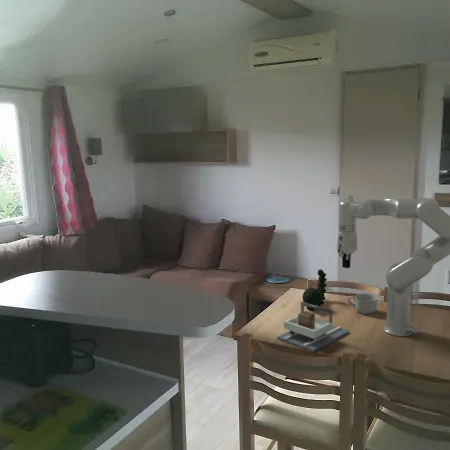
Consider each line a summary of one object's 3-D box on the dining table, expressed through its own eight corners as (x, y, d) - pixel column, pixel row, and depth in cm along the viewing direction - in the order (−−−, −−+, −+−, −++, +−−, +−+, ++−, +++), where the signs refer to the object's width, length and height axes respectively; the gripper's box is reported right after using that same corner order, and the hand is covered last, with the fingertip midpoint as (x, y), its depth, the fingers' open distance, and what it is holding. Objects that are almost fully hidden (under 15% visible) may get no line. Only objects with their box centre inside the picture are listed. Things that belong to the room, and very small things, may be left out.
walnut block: (307, 330, 202) (307, 316, 201) (298, 327, 205) (298, 313, 204) (314, 326, 205) (314, 313, 204) (305, 323, 209) (305, 310, 208)
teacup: (379, 310, 238) (379, 295, 237) (373, 317, 229) (373, 301, 228) (351, 306, 246) (352, 291, 244) (345, 312, 237) (345, 297, 235)
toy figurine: (313, 301, 259) (297, 311, 238) (315, 266, 258) (298, 274, 236) (330, 303, 255) (315, 314, 233) (332, 268, 253) (317, 276, 231)
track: (349, 332, 212) (349, 329, 212) (313, 352, 194) (313, 348, 193) (313, 321, 226) (313, 318, 225) (277, 339, 207) (277, 335, 207)
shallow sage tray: (332, 335, 205) (332, 309, 203) (314, 344, 196) (314, 318, 194) (302, 325, 217) (302, 301, 215) (283, 333, 208) (283, 308, 206)
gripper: (345, 231, 207) (344, 272, 211) (363, 226, 218) (362, 265, 221) (330, 229, 213) (330, 269, 216) (348, 225, 223) (347, 262, 226)
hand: (346, 267), depth 218 cm, fingers closed
